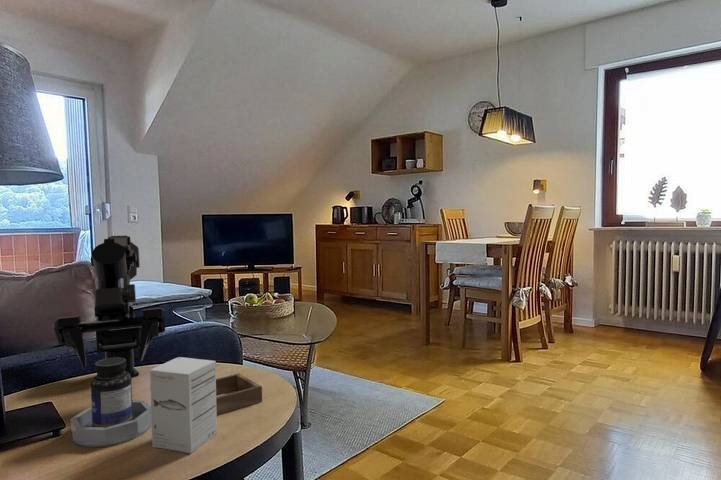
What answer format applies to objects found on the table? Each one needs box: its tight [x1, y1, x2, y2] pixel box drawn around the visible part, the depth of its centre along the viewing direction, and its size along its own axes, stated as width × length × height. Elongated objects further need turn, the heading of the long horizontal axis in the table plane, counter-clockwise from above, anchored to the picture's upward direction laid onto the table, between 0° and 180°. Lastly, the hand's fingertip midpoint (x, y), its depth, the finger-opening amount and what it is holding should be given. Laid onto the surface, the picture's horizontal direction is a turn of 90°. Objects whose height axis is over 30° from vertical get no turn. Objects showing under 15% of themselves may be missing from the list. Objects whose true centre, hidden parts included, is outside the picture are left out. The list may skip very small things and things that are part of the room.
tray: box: [70, 399, 152, 448], centre depth 81 cm, size 12×12×3 cm
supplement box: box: [149, 356, 218, 454], centre depth 77 cm, size 7×7×13 cm
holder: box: [216, 372, 263, 416], centre depth 93 cm, size 10×10×3 cm
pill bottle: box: [90, 357, 133, 428], centre depth 81 cm, size 6×6×11 cm
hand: (112, 364), depth 88 cm, fingers open, 9 cm apart
